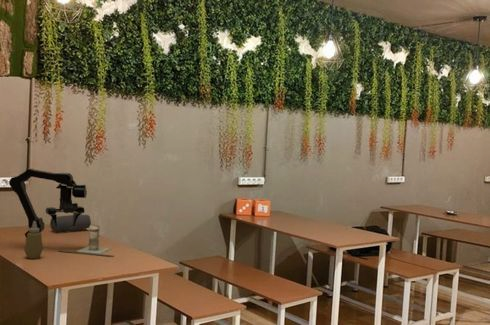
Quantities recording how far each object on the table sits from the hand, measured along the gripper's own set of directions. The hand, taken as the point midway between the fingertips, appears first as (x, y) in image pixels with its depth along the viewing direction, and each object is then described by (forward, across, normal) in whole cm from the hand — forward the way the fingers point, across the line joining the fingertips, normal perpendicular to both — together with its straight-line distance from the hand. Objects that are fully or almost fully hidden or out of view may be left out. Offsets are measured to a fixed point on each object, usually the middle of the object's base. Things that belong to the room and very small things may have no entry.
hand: (64, 226), depth 276 cm
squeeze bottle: (+12, -18, -14) cm, 26 cm away
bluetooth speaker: (+12, +17, +47) cm, 52 cm away
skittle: (+12, +13, -9) cm, 20 cm away
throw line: (+12, +7, -15) cm, 20 cm away
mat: (+12, +13, -9) cm, 20 cm away
